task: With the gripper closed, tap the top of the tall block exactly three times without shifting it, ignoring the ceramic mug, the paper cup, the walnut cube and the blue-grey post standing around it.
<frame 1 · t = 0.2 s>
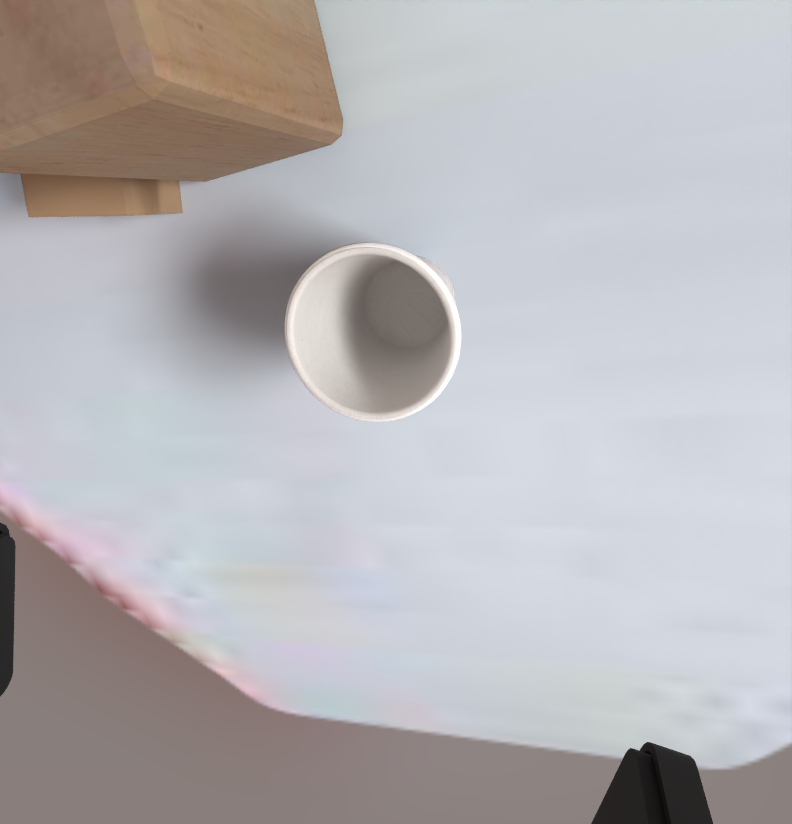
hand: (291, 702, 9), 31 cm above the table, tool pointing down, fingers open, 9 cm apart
dixie cup: (409, 303, 39), on the table
block: (249, 73, 37), on the table
walnut cube: (132, 162, 40), on the table
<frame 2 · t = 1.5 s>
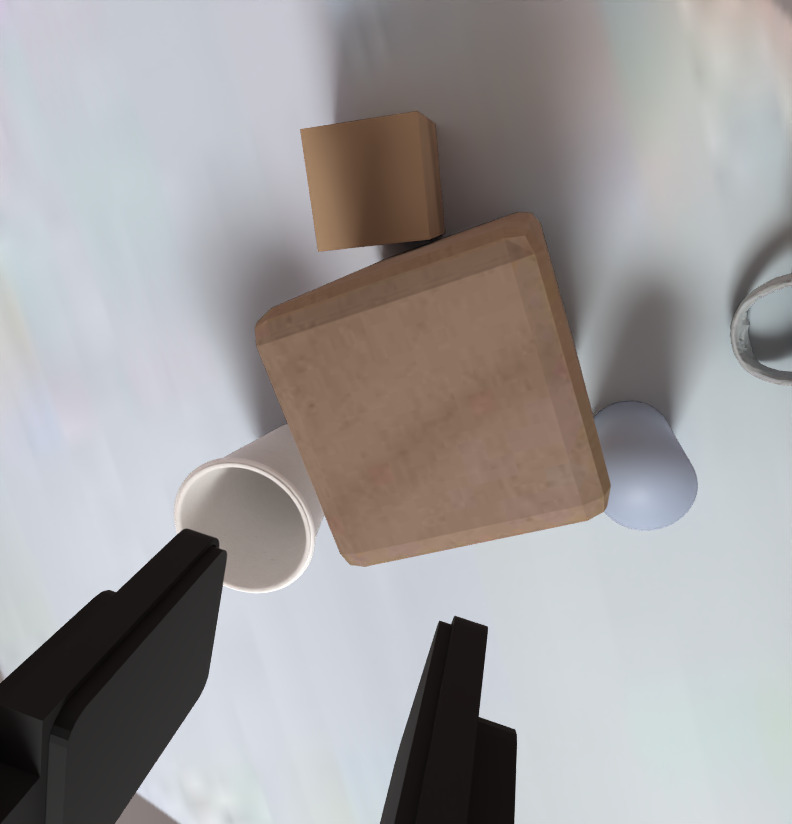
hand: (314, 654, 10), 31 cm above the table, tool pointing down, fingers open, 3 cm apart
dixie cup: (303, 459, 45), on the table
block: (477, 314, 40), on the table
bluegrey post: (627, 439, 40), on the table
walnut cube: (390, 186, 38), on the table
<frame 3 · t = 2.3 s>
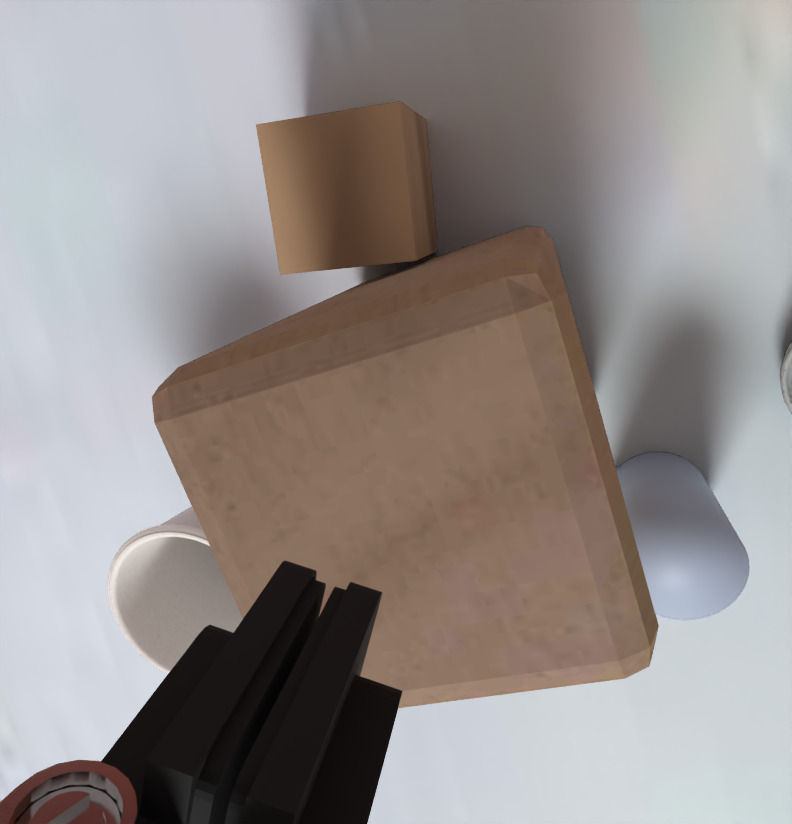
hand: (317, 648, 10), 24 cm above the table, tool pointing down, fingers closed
dixie cup: (274, 510, 39), on the table
block: (477, 347, 33), on the table
bluegrey post: (656, 497, 33), on the table
walnut cube: (372, 194, 32), on the table
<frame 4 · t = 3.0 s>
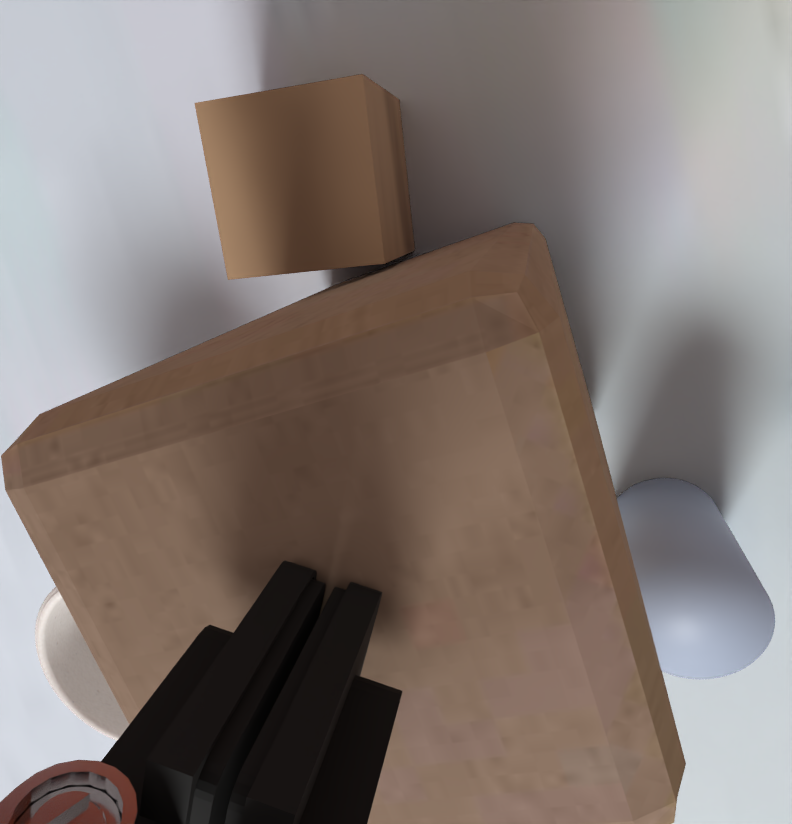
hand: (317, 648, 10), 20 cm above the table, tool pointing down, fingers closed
dixie cup: (237, 539, 35), on the table
block: (460, 360, 29), on the table, touching gripper
bluegrey post: (662, 528, 30), on the table
walnut cube: (339, 186, 28), on the table
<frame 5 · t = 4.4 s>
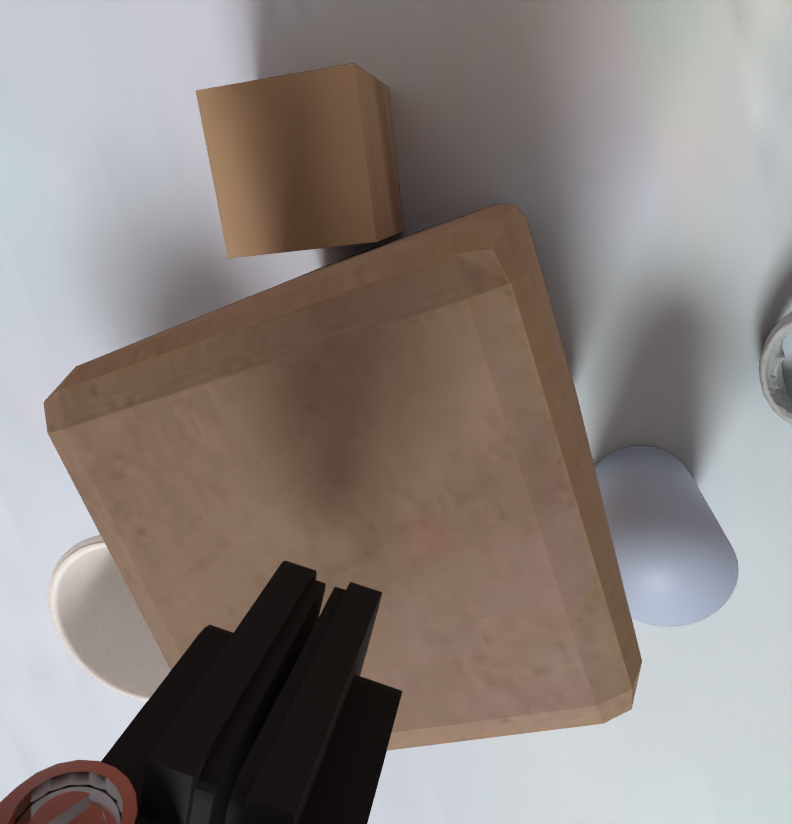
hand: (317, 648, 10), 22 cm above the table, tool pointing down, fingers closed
dixie cup: (236, 511, 37), on the table
block: (447, 335, 31), on the table
bluegrey post: (638, 492, 32), on the table
walnut cube: (332, 170, 29), on the table
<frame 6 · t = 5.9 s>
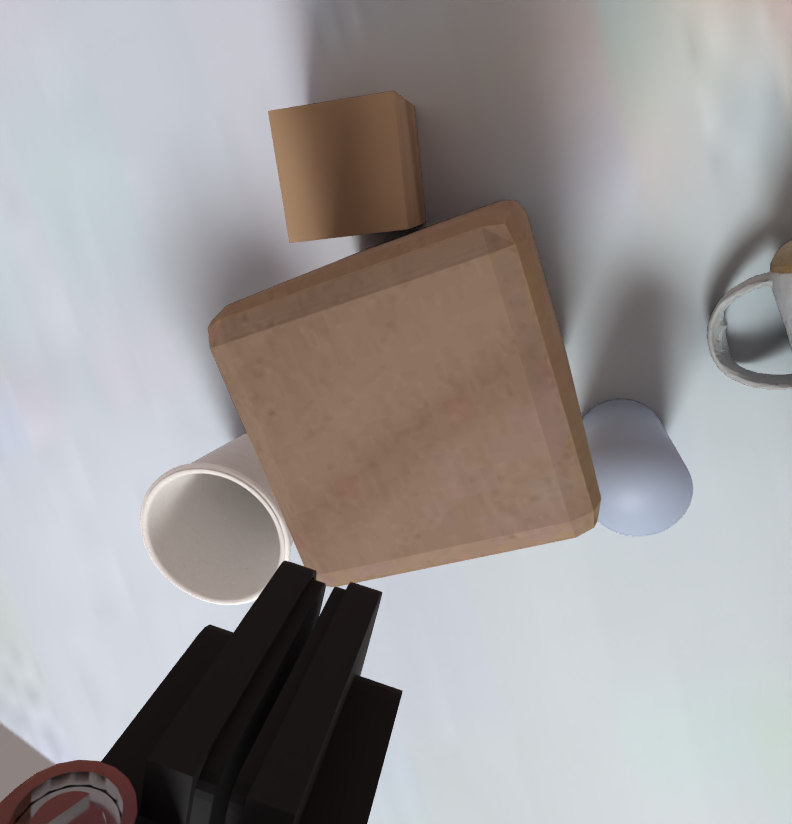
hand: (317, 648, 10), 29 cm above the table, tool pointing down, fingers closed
dixie cup: (280, 461, 43), on the table
block: (461, 308, 38), on the table
bluegrey post: (618, 439, 38), on the table
walnut cube: (367, 172, 36), on the table
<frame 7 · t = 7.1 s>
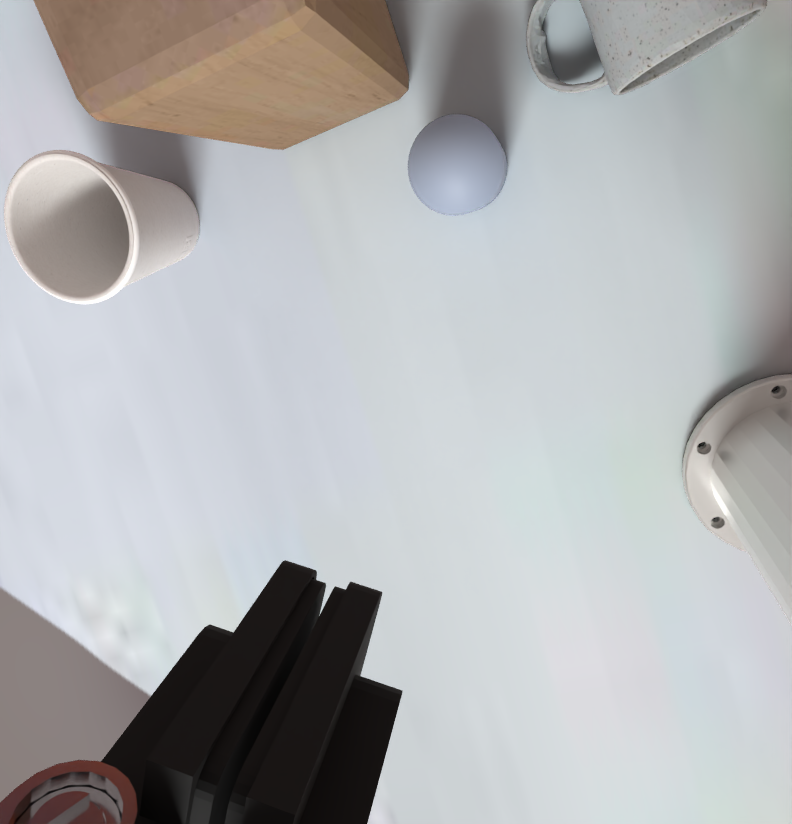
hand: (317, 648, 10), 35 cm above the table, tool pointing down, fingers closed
dixie cup: (163, 222, 46), on the table
block: (316, 44, 40), on the table
ceramic mug: (624, 20, 37), on the table
bluegrey post: (466, 170, 41), on the table
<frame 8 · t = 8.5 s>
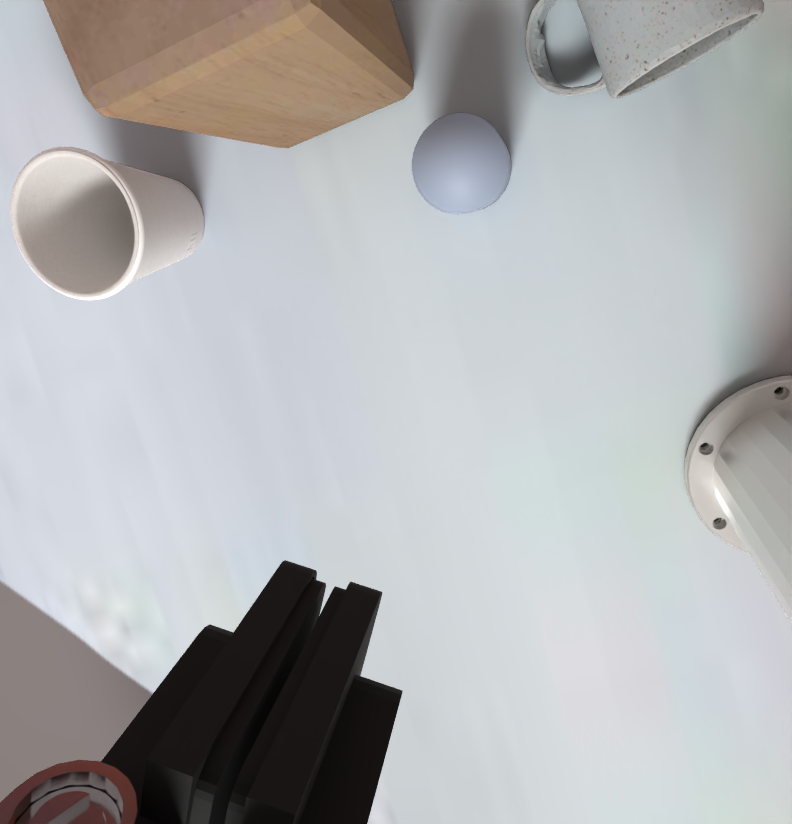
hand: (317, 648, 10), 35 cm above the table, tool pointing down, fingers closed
dixie cup: (168, 219, 46), on the table
block: (321, 44, 40), on the table
ceramic mug: (623, 24, 37), on the table
bluegrey post: (470, 169, 41), on the table
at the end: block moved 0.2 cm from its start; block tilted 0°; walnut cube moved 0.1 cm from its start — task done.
